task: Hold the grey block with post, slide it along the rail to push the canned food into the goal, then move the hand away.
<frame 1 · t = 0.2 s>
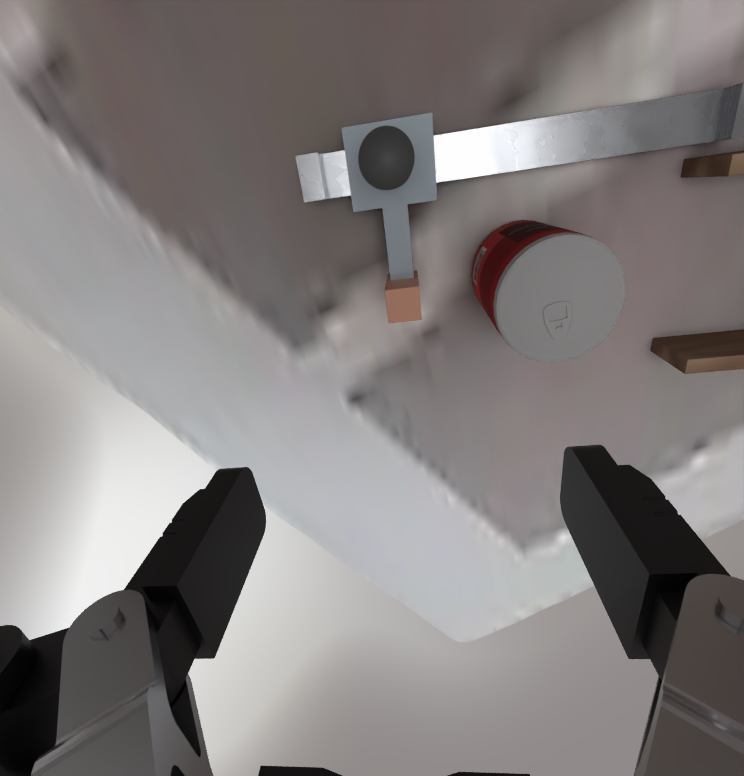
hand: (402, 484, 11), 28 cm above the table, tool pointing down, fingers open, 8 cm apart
grey block with post: (396, 226, 28), point 6 cm above the table, slide at 0.0 cm
goal: (727, 257, 33), on the table
rail: (504, 150, 31), on the table
canned food: (515, 269, 35), on the table
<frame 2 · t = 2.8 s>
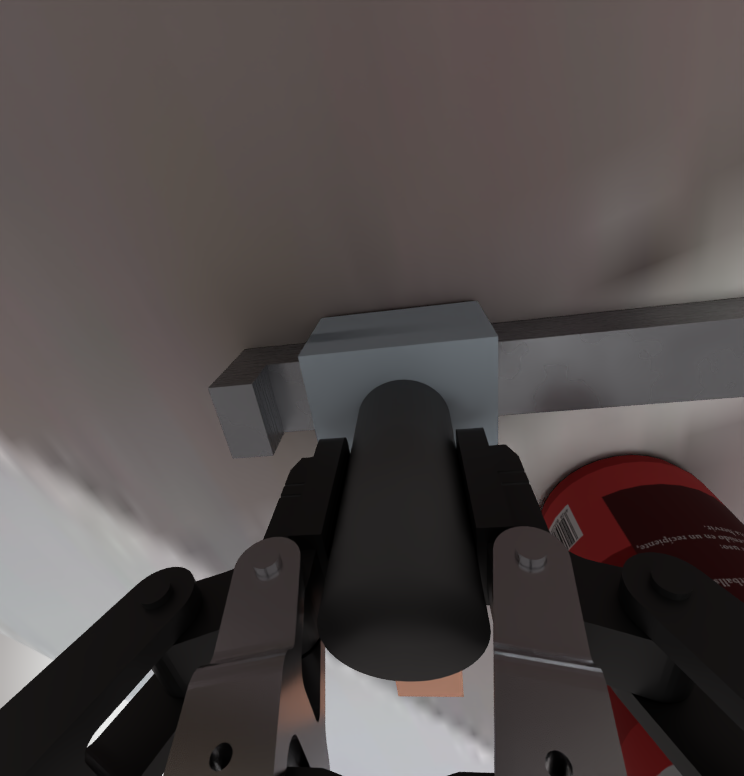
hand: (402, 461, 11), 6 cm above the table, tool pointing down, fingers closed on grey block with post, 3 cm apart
grey block with post: (414, 542, 14), point 6 cm above the table, slide at 0.0 cm, touching gripper
rail: (618, 346, 16), on the table
canned food: (613, 512, 20), on the table
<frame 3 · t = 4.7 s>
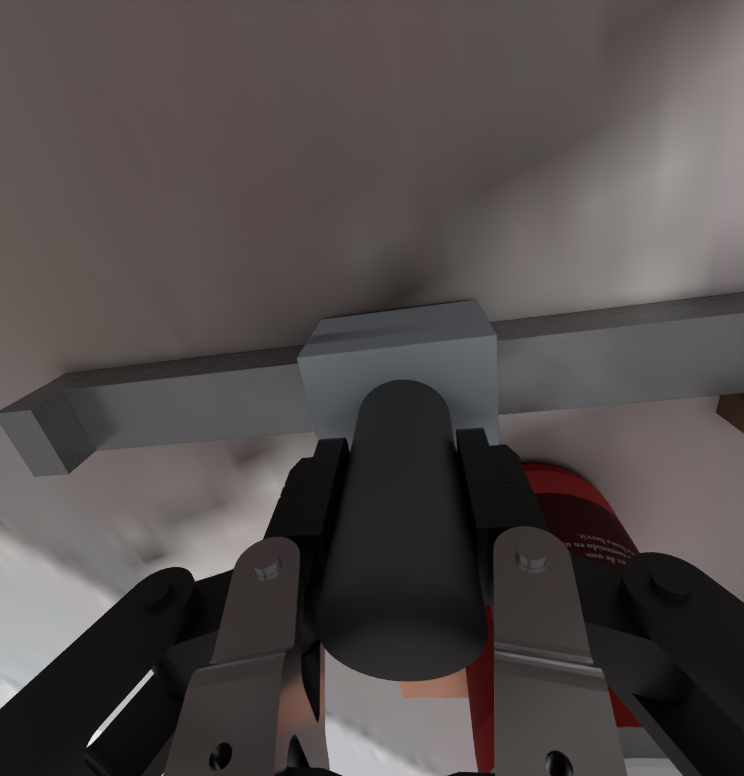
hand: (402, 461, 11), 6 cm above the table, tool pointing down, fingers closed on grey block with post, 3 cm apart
grey block with post: (416, 542, 14), point 6 cm above the table, slide at 8.8 cm, touching canned food, gripper
rail: (398, 368, 17), on the table
canned food: (524, 519, 21), on the table, touching grey block with post
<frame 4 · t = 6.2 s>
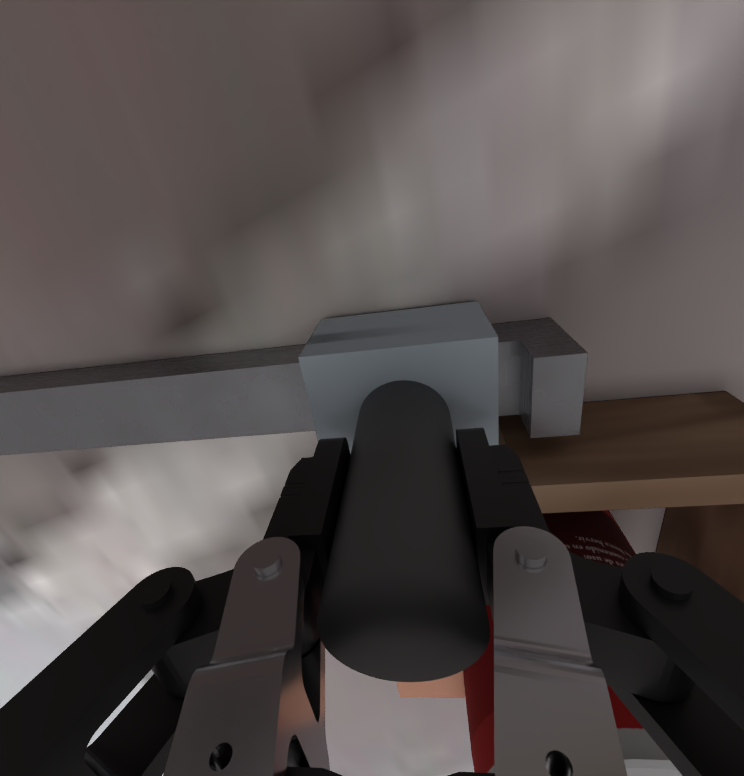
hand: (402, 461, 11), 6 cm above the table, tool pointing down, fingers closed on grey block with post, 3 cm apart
grey block with post: (415, 542, 14), point 6 cm above the table, slide at 17.8 cm, touching canned food, gripper
goal: (588, 532, 20), on the table
rail: (198, 387, 18), on the table
canned food: (521, 520, 21), on the table, touching grey block with post
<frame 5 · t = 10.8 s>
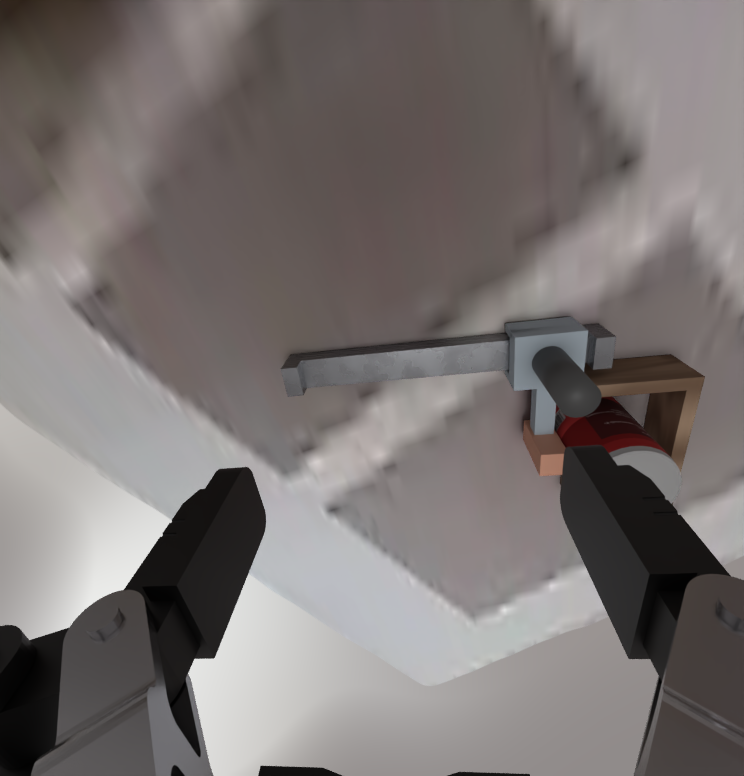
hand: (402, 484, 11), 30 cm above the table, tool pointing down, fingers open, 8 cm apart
grey block with post: (552, 407, 36), point 6 cm above the table, slide at 17.9 cm
goal: (610, 424, 43), on the table
rail: (438, 353, 41), on the table
canned food: (580, 419, 43), on the table
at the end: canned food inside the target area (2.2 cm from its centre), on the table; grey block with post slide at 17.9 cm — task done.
